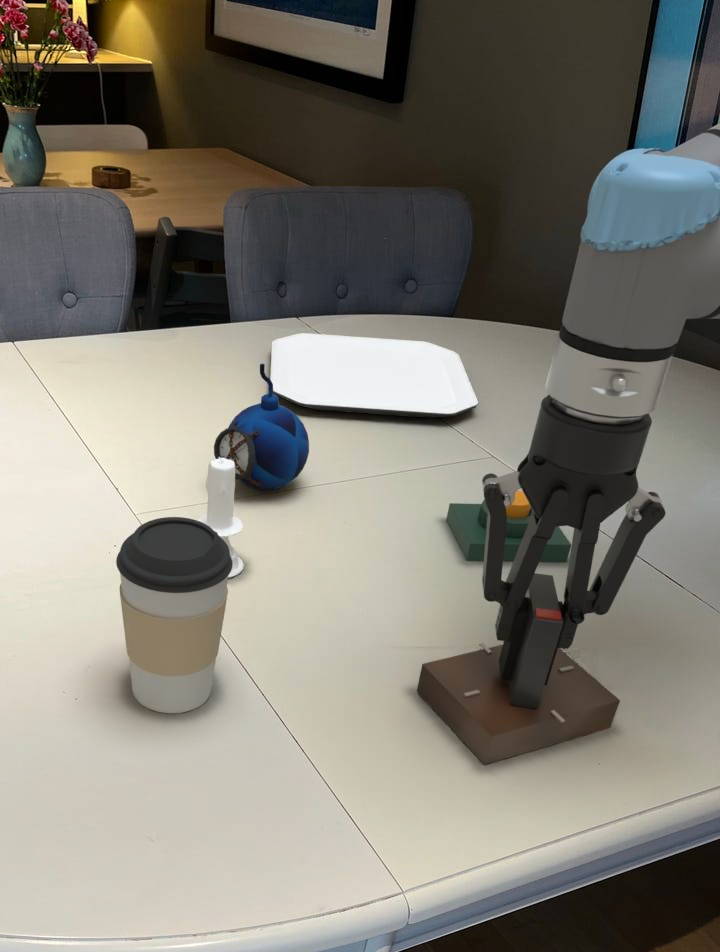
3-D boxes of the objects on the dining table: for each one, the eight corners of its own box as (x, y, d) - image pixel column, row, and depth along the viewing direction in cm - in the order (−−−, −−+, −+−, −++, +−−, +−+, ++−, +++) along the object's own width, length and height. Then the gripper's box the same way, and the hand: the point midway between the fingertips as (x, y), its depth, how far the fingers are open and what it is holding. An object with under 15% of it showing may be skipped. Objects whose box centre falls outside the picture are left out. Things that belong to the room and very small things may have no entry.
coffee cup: (106, 712, 81) (101, 555, 72) (133, 649, 88) (132, 499, 80) (214, 728, 80) (223, 571, 71) (232, 663, 87) (242, 513, 79)
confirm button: (522, 504, 108) (526, 489, 107) (533, 520, 105) (536, 505, 104) (490, 503, 108) (494, 489, 107) (500, 519, 105) (503, 504, 104)
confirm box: (539, 521, 113) (548, 490, 111) (566, 562, 106) (576, 529, 103) (445, 520, 112) (452, 488, 110) (466, 561, 105) (473, 528, 102)
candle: (187, 576, 99) (190, 466, 92) (196, 549, 103) (200, 443, 96) (239, 582, 98) (247, 472, 92) (246, 555, 103) (254, 449, 96)
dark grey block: (503, 655, 86) (526, 569, 81) (529, 658, 85) (553, 572, 80) (509, 705, 80) (534, 616, 75) (537, 709, 80) (564, 619, 75)
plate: (271, 343, 157) (272, 330, 156) (452, 356, 157) (454, 342, 156) (268, 415, 133) (269, 399, 132) (481, 429, 134) (484, 414, 132)
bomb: (197, 484, 115) (202, 359, 107) (262, 459, 122) (271, 339, 113) (258, 516, 110) (267, 386, 101) (321, 488, 117) (336, 364, 108)
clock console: (532, 657, 91) (540, 629, 89) (615, 732, 83) (626, 703, 81) (412, 687, 86) (418, 658, 84) (488, 769, 78) (496, 739, 76)
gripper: (490, 412, 66) (430, 687, 80) (725, 438, 65) (623, 713, 79) (484, 373, 72) (429, 635, 86) (698, 396, 71) (608, 658, 85)
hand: (522, 672), depth 82 cm, fingers closed on dark grey block, 2 cm apart
